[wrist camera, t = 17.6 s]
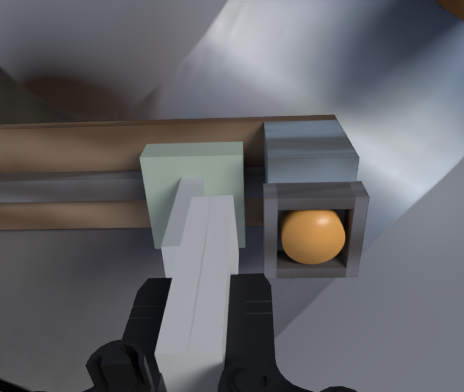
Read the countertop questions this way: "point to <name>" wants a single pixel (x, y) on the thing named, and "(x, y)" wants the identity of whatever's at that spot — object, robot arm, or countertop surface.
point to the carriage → (189, 188)
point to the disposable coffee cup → (453, 7)
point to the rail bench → (185, 131)
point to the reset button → (312, 235)
